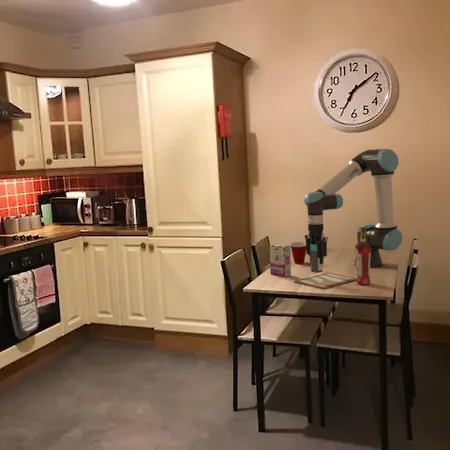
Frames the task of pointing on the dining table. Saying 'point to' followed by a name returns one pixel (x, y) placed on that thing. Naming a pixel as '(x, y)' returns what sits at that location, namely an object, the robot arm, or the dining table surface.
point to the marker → (314, 258)
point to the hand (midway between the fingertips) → (316, 269)
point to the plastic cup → (298, 252)
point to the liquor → (363, 259)
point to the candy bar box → (280, 260)
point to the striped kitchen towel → (325, 280)
